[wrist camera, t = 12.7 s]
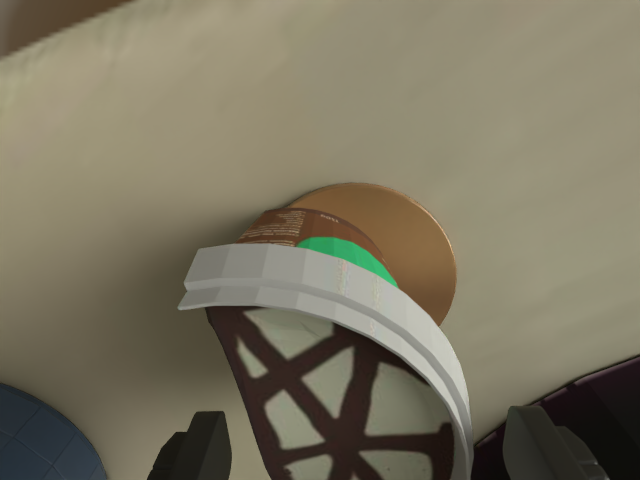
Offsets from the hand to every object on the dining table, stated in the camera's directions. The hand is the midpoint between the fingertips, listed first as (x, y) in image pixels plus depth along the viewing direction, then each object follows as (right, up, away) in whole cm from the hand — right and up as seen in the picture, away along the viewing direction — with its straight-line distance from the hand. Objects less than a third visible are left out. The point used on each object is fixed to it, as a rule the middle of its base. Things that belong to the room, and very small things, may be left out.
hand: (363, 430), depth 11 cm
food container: (0, +3, +8) cm, 9 cm away
